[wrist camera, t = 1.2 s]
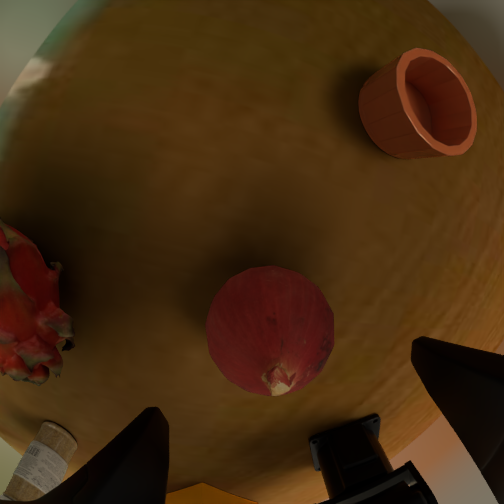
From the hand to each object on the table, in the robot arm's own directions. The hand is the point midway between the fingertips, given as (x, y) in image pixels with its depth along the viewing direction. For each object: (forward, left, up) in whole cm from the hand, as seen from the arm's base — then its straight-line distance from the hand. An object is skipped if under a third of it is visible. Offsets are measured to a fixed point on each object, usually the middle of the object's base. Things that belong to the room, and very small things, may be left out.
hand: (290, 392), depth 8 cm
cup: (+9, -11, -8) cm, 16 cm away
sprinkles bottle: (-11, +24, -8) cm, 28 cm away
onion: (0, 0, -8) cm, 8 cm away
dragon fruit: (+5, +15, -8) cm, 18 cm away
